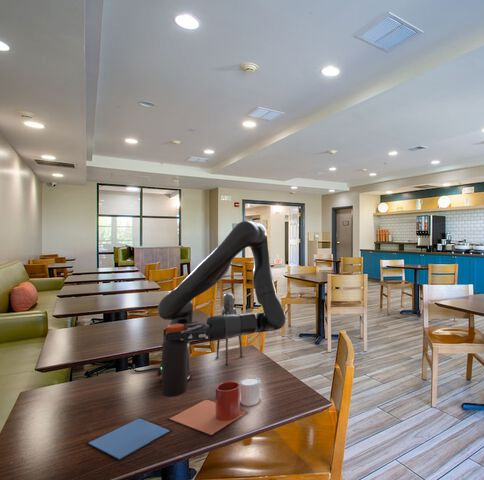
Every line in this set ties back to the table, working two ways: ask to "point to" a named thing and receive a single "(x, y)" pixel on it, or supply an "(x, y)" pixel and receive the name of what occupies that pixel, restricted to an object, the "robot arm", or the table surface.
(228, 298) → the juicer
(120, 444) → the blue mat
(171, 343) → the bottle
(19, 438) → the table surface
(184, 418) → the terracotta mat
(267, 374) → the table surface
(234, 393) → the red cup
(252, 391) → the grey and white cylinder
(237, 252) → the robot arm
